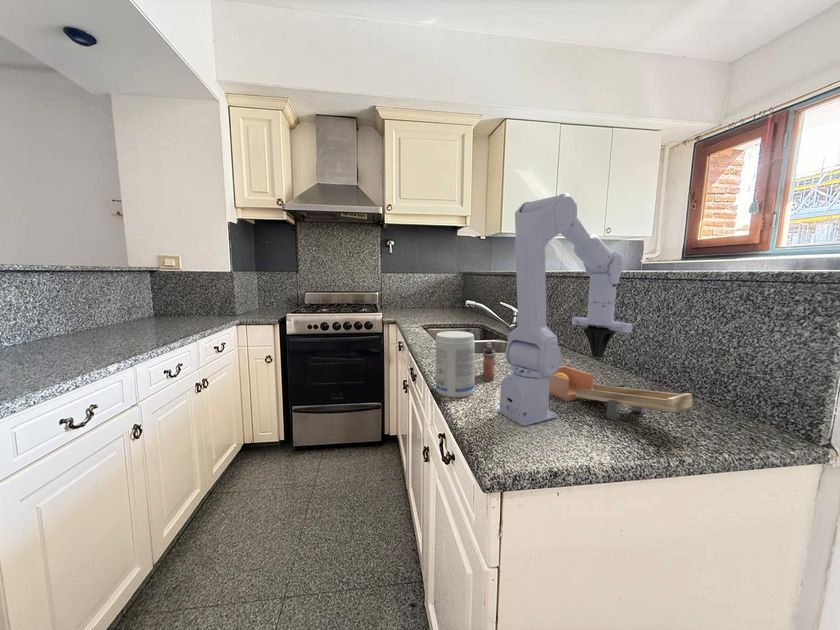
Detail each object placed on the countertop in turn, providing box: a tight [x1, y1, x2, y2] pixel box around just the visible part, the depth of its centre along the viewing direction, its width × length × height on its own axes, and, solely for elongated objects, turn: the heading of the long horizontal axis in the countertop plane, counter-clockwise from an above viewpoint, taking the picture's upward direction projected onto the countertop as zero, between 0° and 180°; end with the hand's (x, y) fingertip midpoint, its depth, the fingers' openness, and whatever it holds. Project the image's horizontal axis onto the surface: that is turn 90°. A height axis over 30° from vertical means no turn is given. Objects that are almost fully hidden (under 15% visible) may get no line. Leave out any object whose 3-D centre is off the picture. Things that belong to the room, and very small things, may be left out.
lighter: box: [482, 341, 496, 382], centre depth 92 cm, size 8×3×10 cm, turn 168°
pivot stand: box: [606, 400, 646, 422], centre depth 67 cm, size 10×2×4 cm, turn 116°
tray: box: [549, 365, 595, 402], centre depth 80 cm, size 9×9×5 cm
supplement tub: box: [435, 330, 476, 399], centre depth 80 cm, size 10×10×15 cm
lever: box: [575, 382, 694, 413], centre depth 68 cm, size 13×20×2 cm, turn 26°
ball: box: [554, 373, 569, 379], centre depth 82 cm, size 4×4×4 cm
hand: (597, 356), depth 80 cm, fingers closed
